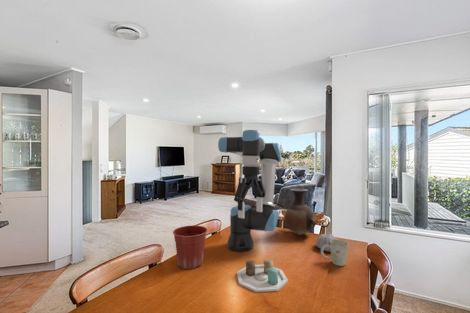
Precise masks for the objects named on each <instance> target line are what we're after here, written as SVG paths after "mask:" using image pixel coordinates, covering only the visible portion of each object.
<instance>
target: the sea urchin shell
mask: <svg viewBox="0 0 470 313" xmlns="http://www.w3.org/2000/svg"><path fill="white" fill-rule="evenodd" d="M331 240H339V239H338V238H337V236H335V235H333V234H331V233H322V234H320V235H319V236H318V237H317V239H316V240H315V245H316V247H317V248H318V249H319V250H321V248H322V247H323V246H324V245H330V241H331ZM323 252H329V253H331V248H328V247H326V248H325V249H324V250H323Z"/></svg>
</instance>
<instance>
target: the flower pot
mask: <svg viewBox="0 0 470 313" xmlns="http://www.w3.org/2000/svg"><path fill="white" fill-rule="evenodd" d="M207 232H208V228H207V227H205V226H202V225H184V226H179V227H176V228H175V229H174V230H173V231H172V234H173V235H174V236H173V237H174V242H175V251H176V258H177V260H176V261H177V266H178V267H180V268H181V269H184V270H191V269H192V270H193V269H196V268H197V267H201V266H202V265H203V263H204V257H205V245H206V239H207Z"/></svg>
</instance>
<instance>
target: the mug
mask: <svg viewBox="0 0 470 313" xmlns="http://www.w3.org/2000/svg"><path fill="white" fill-rule="evenodd" d="M349 244H350V243H348V242H347V241H345V240H341V239H338V240H331V241H330V245H324V246H323V247H322V248H321V249H320V253H321V256H322V257H324V258H325V259H327V260H328V259H329V260H331V262H332V263H333V264H334V265H336V266H338V267H339V266H340V267H343V266H346V264H347V258H348V251H349ZM326 247H328V248H331V252H330V255H331V256H327V255H326V254H325V253H324V252H325V251H324V249H325V248H326Z"/></svg>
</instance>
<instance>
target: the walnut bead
mask: <svg viewBox="0 0 470 313" xmlns="http://www.w3.org/2000/svg"><path fill="white" fill-rule="evenodd" d="M255 265H256V262H255V261H254V260H252V259H250V260H245V267H246V275H248V276H254V275H255Z"/></svg>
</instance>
